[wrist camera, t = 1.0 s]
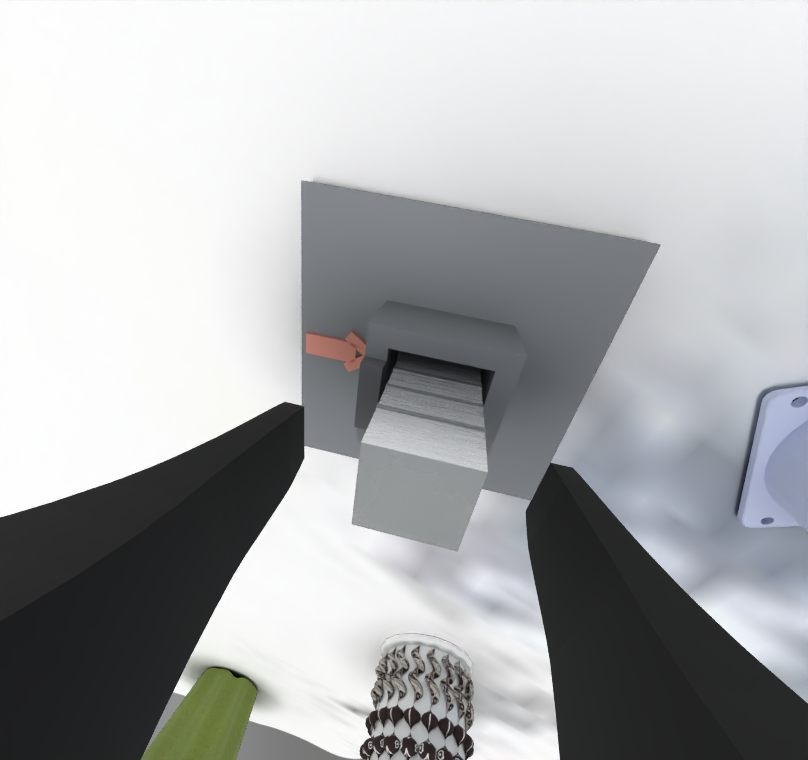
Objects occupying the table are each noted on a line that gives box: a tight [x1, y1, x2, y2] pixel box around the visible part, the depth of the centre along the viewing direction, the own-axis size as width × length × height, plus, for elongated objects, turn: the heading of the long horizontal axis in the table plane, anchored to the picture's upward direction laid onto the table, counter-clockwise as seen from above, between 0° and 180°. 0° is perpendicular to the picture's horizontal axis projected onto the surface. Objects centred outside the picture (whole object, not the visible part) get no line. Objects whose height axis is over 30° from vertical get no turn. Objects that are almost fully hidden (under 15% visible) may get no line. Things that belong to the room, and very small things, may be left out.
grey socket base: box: [301, 181, 660, 500], centre depth 14 cm, size 13×13×5 cm
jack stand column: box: [352, 351, 488, 551], centre depth 11 cm, size 3×3×7 cm
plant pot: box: [141, 668, 257, 760], centre depth 36 cm, size 12×12×11 cm
